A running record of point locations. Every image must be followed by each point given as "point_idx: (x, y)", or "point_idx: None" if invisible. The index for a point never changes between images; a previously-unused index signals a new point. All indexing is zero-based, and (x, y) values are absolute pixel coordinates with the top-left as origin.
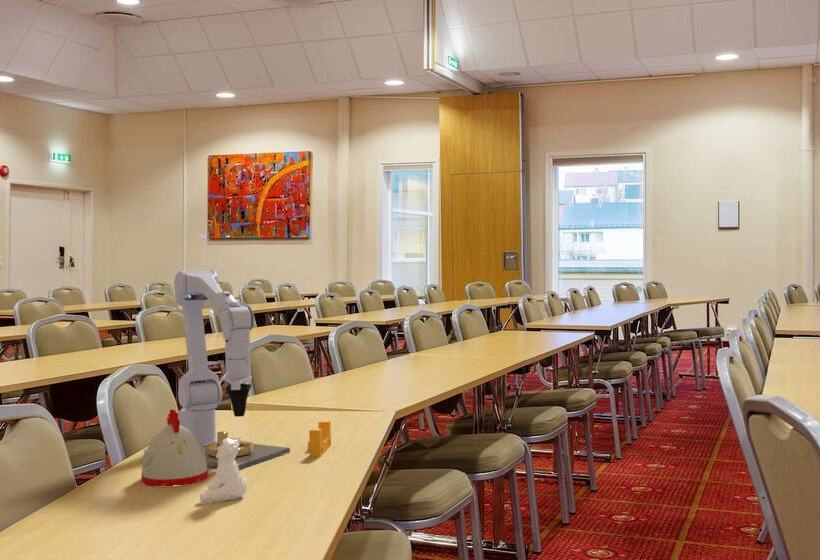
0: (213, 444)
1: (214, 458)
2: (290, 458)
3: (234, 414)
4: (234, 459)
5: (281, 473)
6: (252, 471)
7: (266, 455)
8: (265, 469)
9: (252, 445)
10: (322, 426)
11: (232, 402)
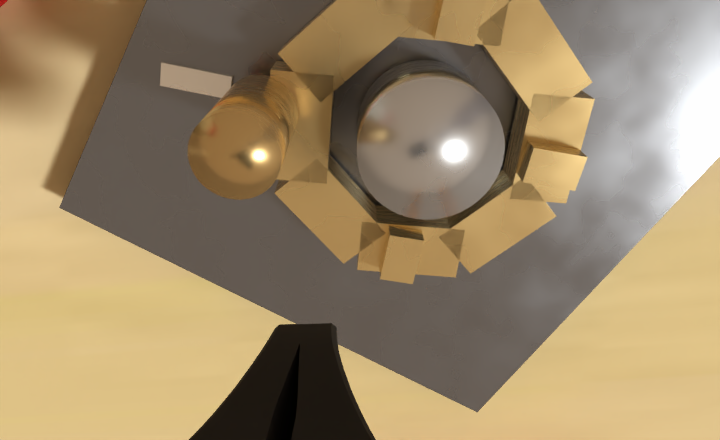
0: (438, 14)
1: (260, 40)
2: None
3: (272, 335)
4: None
5: (42, 392)
6: (65, 274)
7: None
8: (111, 325)
9: (416, 272)
10: None
11: (207, 431)
